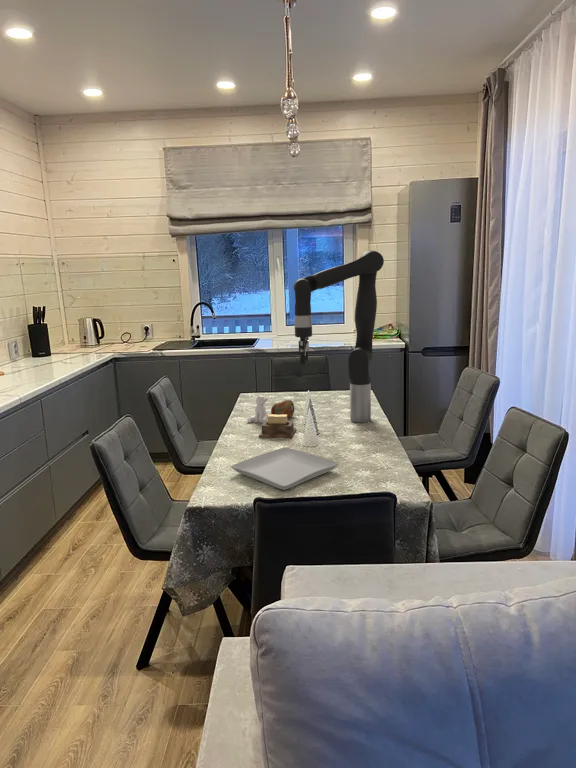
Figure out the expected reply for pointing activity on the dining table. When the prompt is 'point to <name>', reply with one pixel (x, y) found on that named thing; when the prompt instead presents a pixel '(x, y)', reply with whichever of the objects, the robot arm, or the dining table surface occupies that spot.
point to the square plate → (284, 467)
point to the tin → (283, 408)
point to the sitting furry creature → (259, 411)
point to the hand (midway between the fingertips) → (304, 362)
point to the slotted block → (277, 430)
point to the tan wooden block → (277, 419)
